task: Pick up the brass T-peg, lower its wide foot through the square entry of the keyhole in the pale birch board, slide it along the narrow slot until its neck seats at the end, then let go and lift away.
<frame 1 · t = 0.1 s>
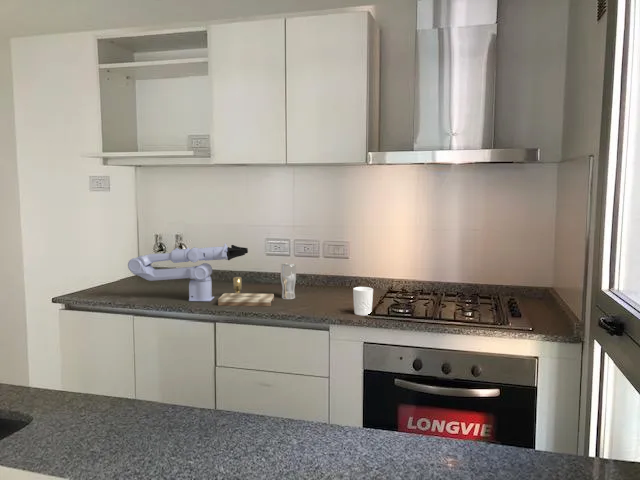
hand: (246, 251, 227), 22 cm above the countertop, tool horizontal, fingers open, 7 cm apart
brass peg: (237, 297, 236), on the countertop
keyhole board: (246, 302, 225), on the countertop
beer glass: (288, 298, 235), on the countertop
white cup: (362, 314, 206), on the countertop
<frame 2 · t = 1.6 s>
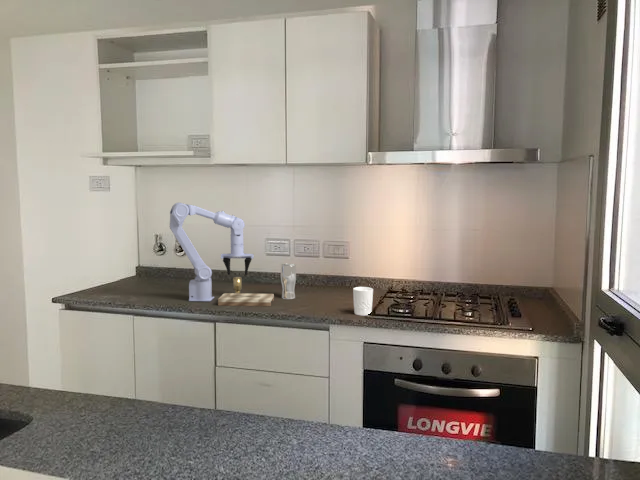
hand: (237, 274, 235), 10 cm above the countertop, tool pointing down, fingers open, 7 cm apart
nothing on the countertop moved.
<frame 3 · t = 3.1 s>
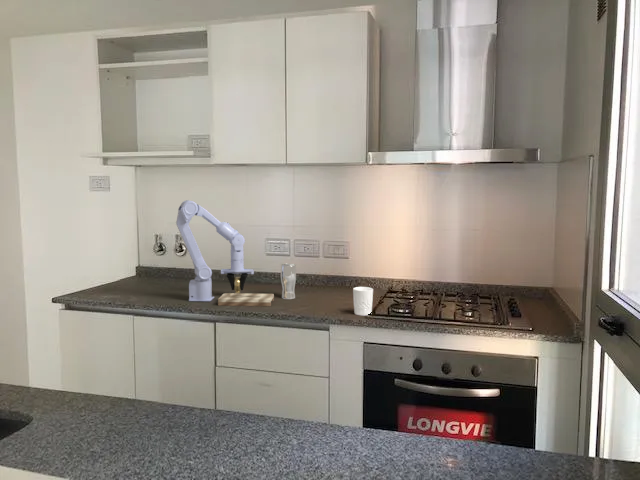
hand: (237, 289, 235), 3 cm above the countertop, tool pointing down, fingers closed on brass peg, 4 cm apart
brass peg: (237, 297, 236), on the countertop, touching gripper
everything else where it was.
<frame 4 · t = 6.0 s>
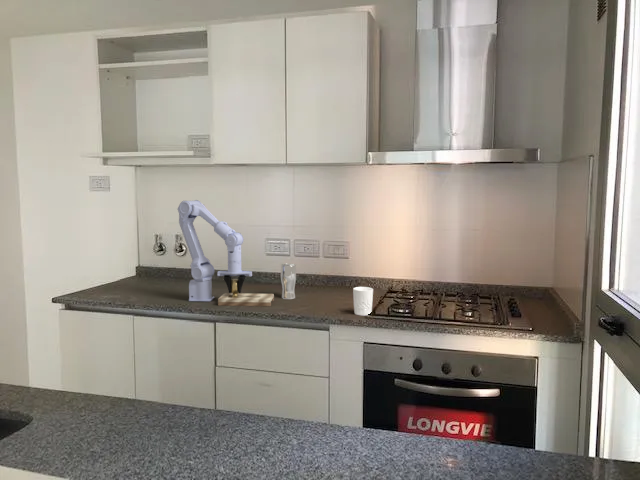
hand: (235, 292, 224), 4 cm above the countertop, tool pointing down, fingers closed on brass peg, 4 cm apart
brass peg: (235, 300, 225), point 1 cm above the countertop, touching gripper
everything else where it was.
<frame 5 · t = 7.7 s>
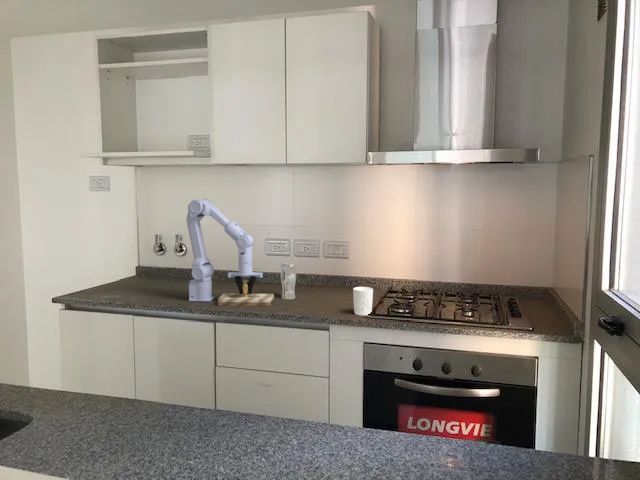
hand: (245, 293, 224), 4 cm above the countertop, tool pointing down, fingers closed on brass peg, 4 cm apart
brass peg: (245, 301, 225), on the countertop, touching gripper
everything else where it was.
when the fingers open (4 cm above the countertop, at t = 9.2 s): brass peg stays where it is, on the countertop.
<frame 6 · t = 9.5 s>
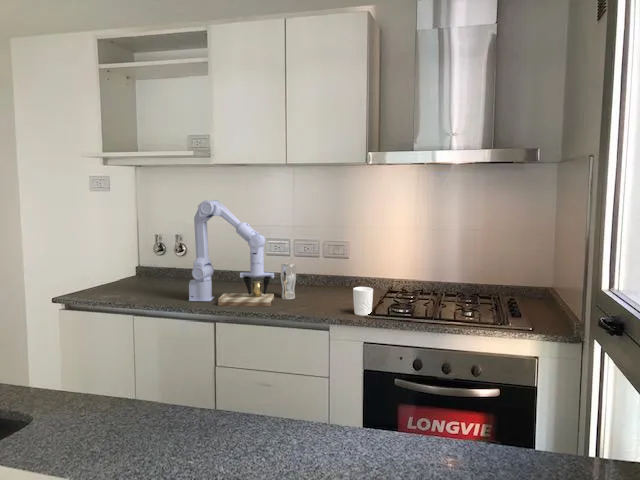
hand: (257, 294, 224), 4 cm above the countertop, tool pointing down, fingers open, 6 cm apart
brass peg: (257, 302, 224), on the countertop
everything else where it was.
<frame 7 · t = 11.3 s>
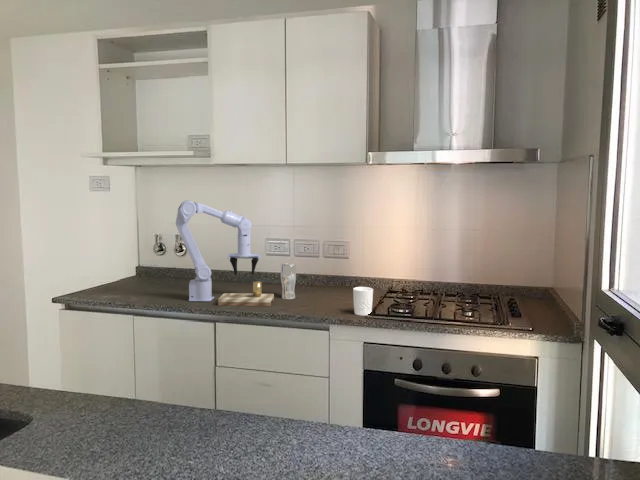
hand: (244, 274, 235), 10 cm above the countertop, tool pointing down, fingers open, 7 cm apart
nothing on the countertop moved.
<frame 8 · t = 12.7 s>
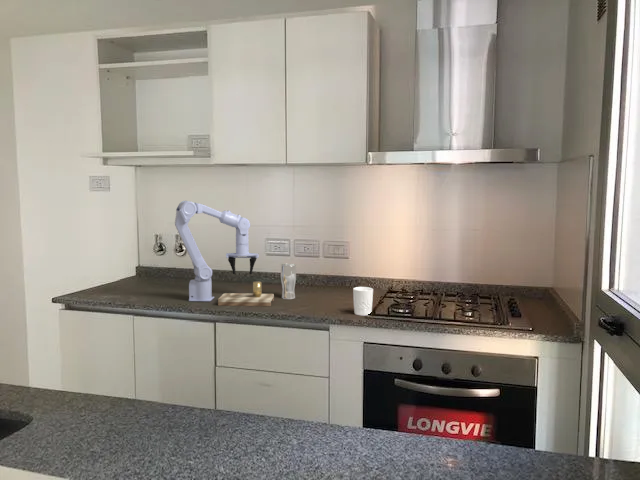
hand: (242, 273, 237), 10 cm above the countertop, tool pointing down, fingers open, 7 cm apart
nothing on the countertop moved.
at the end: brass peg 0.1 cm from the target spot on the keyhole board, point 0.0 cm above the keyhole board's base; brass peg tilted 0°; the gripper is holding nothing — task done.
